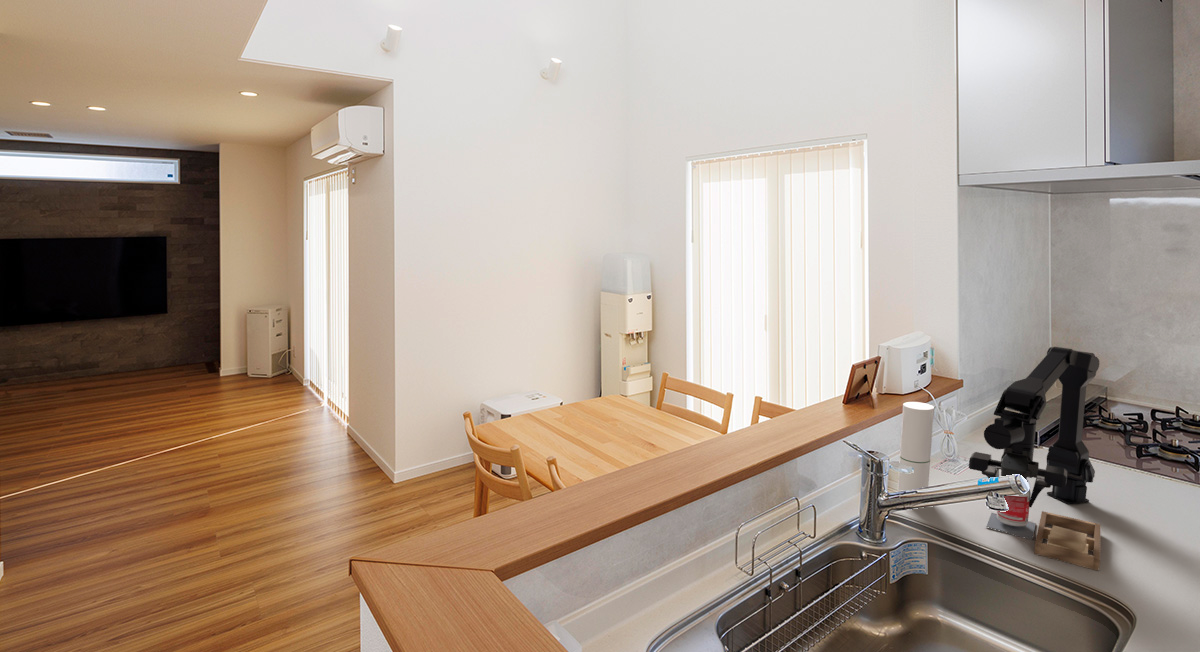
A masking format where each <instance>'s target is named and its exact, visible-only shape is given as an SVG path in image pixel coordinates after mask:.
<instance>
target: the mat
mask: <svg viewBox="0 0 1200 652" xmlns="http://www.w3.org/2000/svg"><path fill="white" fill-rule="evenodd" d="M1036 524H1037V523H1036V522H1033V521H1029V520H1028V523H1027V525H1025V526H1022V527H1018V526H1011V525H1007V524H1005V523H1002V522H1001V521H999V520H998V518H997V513H994V512H991V513H990V516H989V518H988V521H987V523H986V526H985V528H986V527H989V528H992V529H996V530H1000V531H1003V532H1007V533H1010V534H1009V535H1011V534H1014V535H1013V536H1015V535H1017V536H1016V537H1019V536H1020V538H1023V537H1025V538H1024V539H1027V538H1028V539H1027V540H1031V539H1032V540H1033V539H1034V534H1035V530H1036V526H1037V525H1036ZM1003 532H1002V533H1003ZM1007 533H1006V534H1007Z"/></svg>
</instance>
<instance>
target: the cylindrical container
mask: <svg viewBox="0 0 1200 652" xmlns="http://www.w3.org/2000/svg"><path fill="white" fill-rule="evenodd" d="M934 412H935V407H934V405H932V404H929V403H926V402H921V401H907V402H904V403H903V404H902V415H901V430H900V431H901V432H900V433H901V434H900V447H899V463H902V464H905V465H909V466H912V467H913V468H914V473H911V474H905V473H899V472H898V476H899V480H898V479H897V492H898V491H899V490H912V489H917V488H922V487H928V488H929V485H930V484H929V483H930V482H929V481H930V469H931V456H932V455H931V454H932V441H933V425H934V424H933V423H934V415H935V414H934ZM899 463H898V464H899Z"/></svg>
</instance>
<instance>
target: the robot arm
mask: <svg viewBox="0 0 1200 652" xmlns="http://www.w3.org/2000/svg"><path fill="white" fill-rule="evenodd" d="M1099 367H1100V359H1099V358H1098V357H1097V356H1096V355H1095V354H1094V352H1088V351H1081V350H1075V349H1073V348H1070V347H1059V346H1052V347H1051V346H1050V347H1049V348H1048V350H1047V352H1046V355H1045V356H1044V357H1043V359H1041V361H1040V362H1039V363H1038V364H1037V365H1036V366H1035V367H1034V368H1033V370H1031V372H1030V373H1029V374H1028V375H1027V376H1026V377H1025V378H1023V379H1019V380H1016V381H1013V382H1012V383H1011V384H1010V385H1008V386H1007V388H1005V389H1004V390H1003V392H1002V393H1001V396H1000V398H999V401H998V403H997V404H996V405H997V406H996V407H995V410H994V412H993V415H994V416H997V417H995V418H994V422H993V423H992V424H989V425H987V426H986V427H985V429H984V431H983V438H984V440H985V442H986V443H987V444H988V446H990V447H991V448H993V449H996V450H1003V454H1002V455H1001V459H1000V460H996V459H992V454H990V453H989V454H988V453H983V452H979V451H974V452H972V454H971V456H970V458H969V462H968V469H970V470H973V471H979V472H981V475H983V476H986V477H987V478H988V479H989V478H990V477H999V478H1000V477H1001V476H1006V475H1012V474H1020V475H1022V476H1023V477H1024V478H1025V479H1026V480H1027V479H1029V478H1031V479H1032V478H1034V479H1035V480H1034V484H1033V487H1032V492H1031V495H1030V502H1029V508H1032V506H1033V505H1034V503H1035V501H1036V499H1037V498H1038V496H1039V494H1040V493H1041V492H1042V490H1044V489H1045V488H1047V489H1051V488H1052V491H1047V492H1046V494H1047V495H1048V496H1050V497H1053V498H1054V499H1056V500H1059V501H1061V502H1063V503H1065V504H1067V505H1073V504H1083V503H1089V502H1090V500H1089V499H1088V498H1087V493H1088V492H1087V490H1088V486H1087V483H1091V484H1092V483H1094V478H1095V476H1096V475H1095V474H1096V471H1095V468H1094V466H1093V464H1092V462H1091V460H1090V451H1089V449H1088V448H1087V446H1086V445H1085V443H1084V441H1083V429H1084V417H1085V406H1086V394H1087V393H1086V392H1087V385H1089V383H1090V382H1091V381H1093V379H1095V377H1096V375H1097V371H1098V370H1099ZM1057 380H1058V381H1059V383H1060V384H1061V400H1060V412H1059V424H1058V426H1059V427H1058V437H1057V438H1058V439H1057V440H1056V441H1055V442H1054V443H1052V445H1050V446H1049V447H1048V449H1047V450H1048V453H1047V455H1046V467H1045V469H1044V468H1039V467H1040V466H1039V462H1038V461H1035V460H1033V459H1034V450H1035V449H1034V448H1035V443H1036V442H1035V441H1036V429H1037V421H1038V420H1040V419H1041V418H1040V417H1041V415H1042V413H1043V411H1044V409H1045V407H1046V405H1047V397H1046V394H1047V392H1048V391H1049V389H1051V387H1052V386H1054V384H1055V383H1056V382H1057Z"/></svg>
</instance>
